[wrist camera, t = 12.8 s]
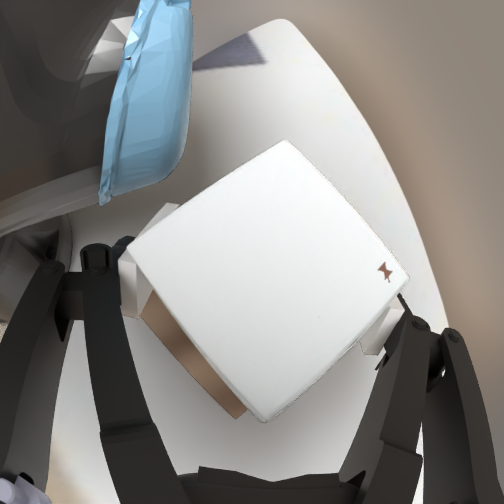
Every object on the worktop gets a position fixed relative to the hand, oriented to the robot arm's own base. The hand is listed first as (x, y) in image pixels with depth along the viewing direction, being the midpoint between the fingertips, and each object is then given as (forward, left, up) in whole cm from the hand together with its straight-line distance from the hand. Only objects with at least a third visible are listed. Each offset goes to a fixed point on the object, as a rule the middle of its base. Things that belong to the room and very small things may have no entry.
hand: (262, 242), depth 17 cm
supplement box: (+2, -2, -6) cm, 6 cm away
